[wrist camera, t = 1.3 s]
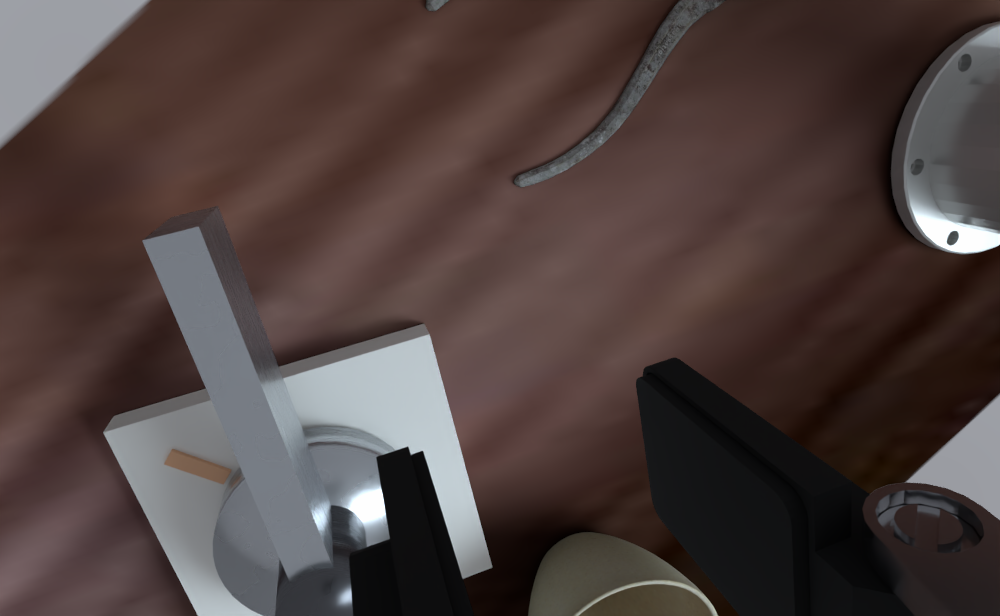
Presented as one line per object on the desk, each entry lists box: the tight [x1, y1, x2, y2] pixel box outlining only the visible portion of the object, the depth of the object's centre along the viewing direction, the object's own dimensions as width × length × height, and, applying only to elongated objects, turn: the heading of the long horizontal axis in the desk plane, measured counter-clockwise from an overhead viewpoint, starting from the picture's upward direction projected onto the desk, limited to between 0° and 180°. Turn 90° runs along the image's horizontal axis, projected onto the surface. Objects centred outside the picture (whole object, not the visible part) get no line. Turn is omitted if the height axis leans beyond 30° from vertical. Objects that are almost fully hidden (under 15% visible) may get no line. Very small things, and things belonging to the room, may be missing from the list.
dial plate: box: [103, 324, 493, 616], centre depth 30 cm, size 14×14×2 cm
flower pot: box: [528, 532, 718, 616], centre depth 34 cm, size 10×10×7 cm
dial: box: [142, 206, 396, 616], centre depth 24 cm, size 20×9×6 cm, turn 12°
